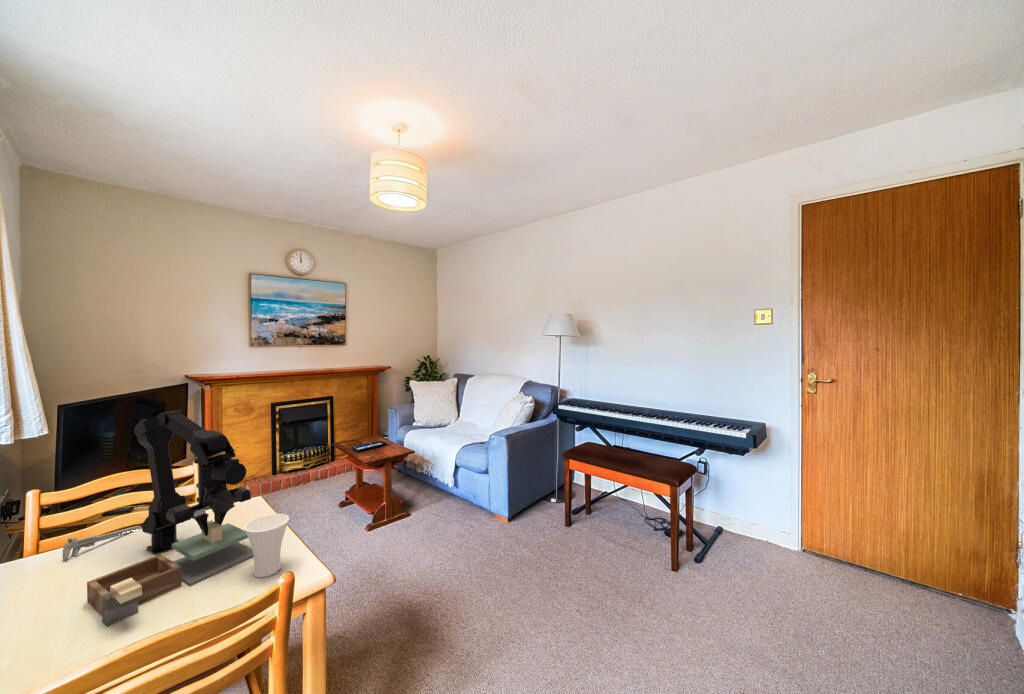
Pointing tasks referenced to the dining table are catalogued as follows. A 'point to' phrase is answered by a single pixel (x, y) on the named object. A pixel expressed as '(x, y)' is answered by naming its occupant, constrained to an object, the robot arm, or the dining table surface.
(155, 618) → the dining table surface
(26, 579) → the dining table surface
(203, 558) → the mat
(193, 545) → the lid
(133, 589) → the wooden block
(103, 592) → the toolbox
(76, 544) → the caliper
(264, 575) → the cup
